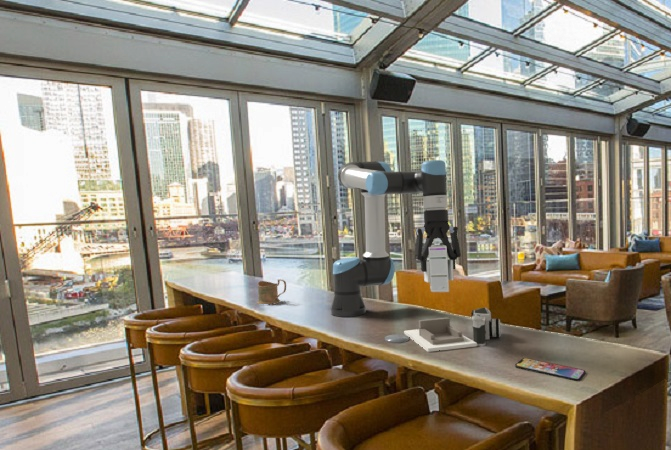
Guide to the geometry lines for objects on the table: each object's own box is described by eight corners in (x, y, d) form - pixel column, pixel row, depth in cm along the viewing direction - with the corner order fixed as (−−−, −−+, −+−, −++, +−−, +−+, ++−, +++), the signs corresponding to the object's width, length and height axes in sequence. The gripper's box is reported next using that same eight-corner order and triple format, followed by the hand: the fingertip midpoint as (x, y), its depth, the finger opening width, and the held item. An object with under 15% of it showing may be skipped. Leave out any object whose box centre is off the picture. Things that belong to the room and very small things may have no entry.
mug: (278, 306, 194) (277, 281, 193) (252, 303, 203) (250, 280, 203) (293, 301, 203) (292, 278, 203) (267, 299, 213) (266, 276, 213)
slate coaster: (381, 338, 138) (381, 335, 138) (403, 335, 139) (403, 333, 139) (389, 345, 130) (389, 342, 130) (412, 342, 132) (412, 340, 132)
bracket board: (404, 333, 141) (403, 316, 140) (447, 329, 144) (446, 312, 143) (428, 351, 121) (427, 331, 121) (477, 346, 124) (476, 326, 124)
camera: (500, 347, 122) (499, 314, 122) (470, 345, 125) (469, 313, 125) (500, 332, 137) (499, 303, 136) (473, 331, 140) (472, 302, 140)
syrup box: (449, 292, 126) (447, 245, 126) (430, 292, 127) (428, 246, 127) (448, 288, 132) (446, 244, 132) (429, 289, 133) (427, 244, 133)
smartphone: (579, 380, 96) (513, 365, 106) (579, 383, 96) (513, 368, 106) (586, 370, 101) (523, 357, 111) (586, 374, 101) (523, 360, 111)
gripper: (410, 210, 124) (413, 285, 124) (470, 207, 128) (474, 280, 128) (401, 211, 131) (404, 281, 131) (459, 208, 135) (462, 276, 135)
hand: (438, 280), depth 130 cm, fingers closed on syrup box, 7 cm apart
